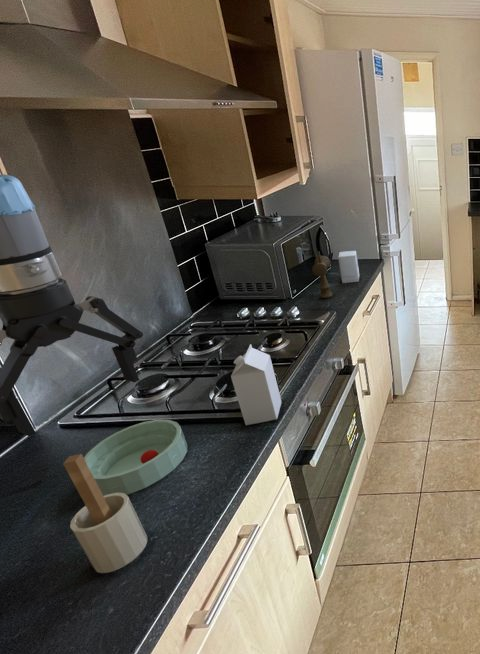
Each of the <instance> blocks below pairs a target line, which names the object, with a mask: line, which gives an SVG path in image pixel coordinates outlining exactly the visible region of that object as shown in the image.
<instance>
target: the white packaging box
mask: <svg viewBox="0 0 480 654" xmlns="http://www.w3.org/2000/svg"><path fill="white" fill-rule="evenodd" d="M337 260H338V265H339V272H340V278H341V284H348V283H349V284H350V283H359V282H360V269H359V262H358V255H357V250H348V251H347V250H345V251H340V252H339V253H338V257H337Z"/></svg>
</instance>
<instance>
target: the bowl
mask: <svg viewBox="0 0 480 654" xmlns="http://www.w3.org/2000/svg"><path fill="white" fill-rule="evenodd" d="M149 450H155V451H157V452H158V455H157V456H156V457H154V458H153V459H152V460H150V461H148V462H146V463H144V464H143V463H142V462H141V456H142V455H143V453H145V452H146V451H149ZM187 453H188V443H187V439H186V437H185V435H184V432H183V430H182V426H181V425H180V424H179V423H178V422H177V421H174V420H171V419H153V420H148V421H142V422H140V423H136V424H133V425H130V426H128V427H125V428H123V429H121V430H119V431H116V432H115V433H113V434H110V435H109V436H107V437H106V438H104V439H103V440H101V441H100V442H99V443H97V444H96V445H95V446H93V447H92V448H91V449H90V450H89V451H88V452H87V453H86V454H85V456H83V458H84V460H85V461H86V463H87V465H88V467H89V469H90V471H91V473H92V475H93V477H94V479H95V481H96V483H97V485H98V487H99V489H100V491H101V493H102V495H103V496H105V495H108V494H113V493H125V494H126V495H127V496H128V495H131V494H133V493H135V492H139V491H142V490H144V489H146V488H148V487H150V486H151V485H153V484H156V483H157V482H159V481H161V480H162V479H164V478H165V477H166V476H168V475H169V474H170V473H171V472H173V471H174V470H176V468H177V467H178V466H179V465H180V464H181V462H183V461H184V459H185V457H186V456H187V455H186V454H187Z"/></svg>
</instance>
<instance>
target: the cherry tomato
mask: <svg viewBox="0 0 480 654" xmlns="http://www.w3.org/2000/svg"><path fill="white" fill-rule="evenodd" d="M157 455H158V452H157V451H155V450H149V451H146V452H145V453H143V455H142V456H141V462H142V463H143V464H144V463H146V462H148V461H150V460H152V459H153V458H154V457H156V456H157Z"/></svg>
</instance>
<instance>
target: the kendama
mask: <svg viewBox="0 0 480 654" xmlns="http://www.w3.org/2000/svg"><path fill="white" fill-rule="evenodd" d="M330 266H331V260H330V257H328V256H326V255H321V252H320V251H317V257H315V259H314V265H312V269H311V271H312V273H313V275H314V276H316V277H320V285H319V286H318V288H319V289H320V291H321V292H320V294H319V297H320V298H321V299H328V298H332V297H333V295H334V292H332V291H331V283H329V281H328V279H327V277H326V274H328V268H330Z"/></svg>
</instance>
